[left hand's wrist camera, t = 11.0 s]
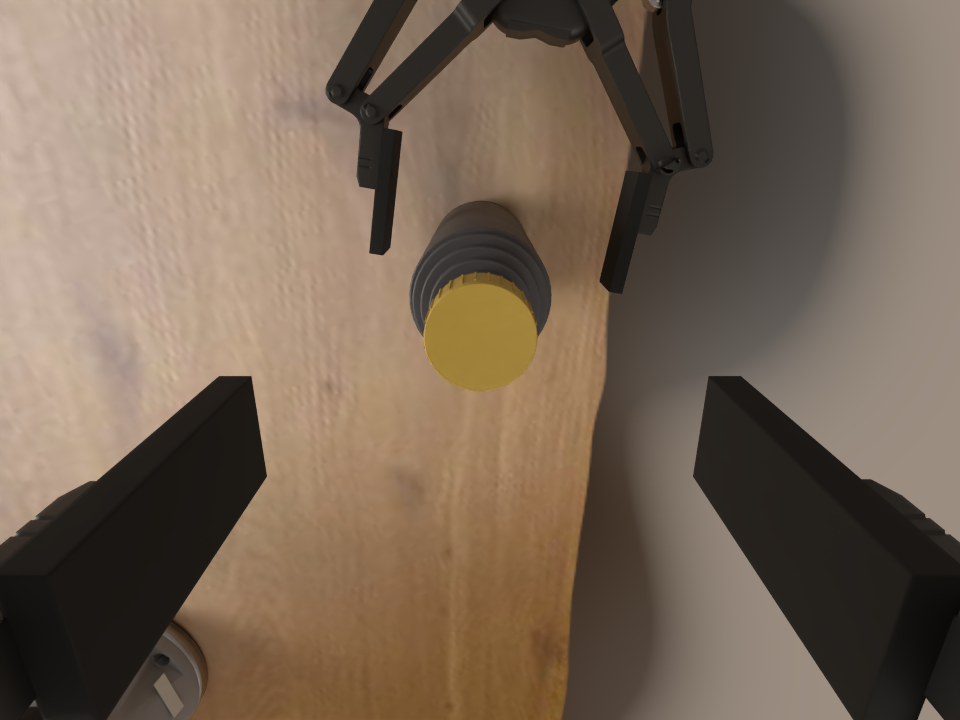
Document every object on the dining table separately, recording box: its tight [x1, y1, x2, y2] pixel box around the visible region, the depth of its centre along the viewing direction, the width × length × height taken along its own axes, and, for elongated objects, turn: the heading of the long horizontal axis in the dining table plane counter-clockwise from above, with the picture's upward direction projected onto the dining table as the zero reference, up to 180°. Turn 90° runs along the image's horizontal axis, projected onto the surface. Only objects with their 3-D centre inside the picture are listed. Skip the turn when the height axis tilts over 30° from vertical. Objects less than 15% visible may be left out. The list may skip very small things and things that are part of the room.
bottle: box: [409, 201, 551, 338], centre depth 29 cm, size 6×6×19 cm
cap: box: [423, 272, 538, 391], centre depth 21 cm, size 4×4×2 cm
